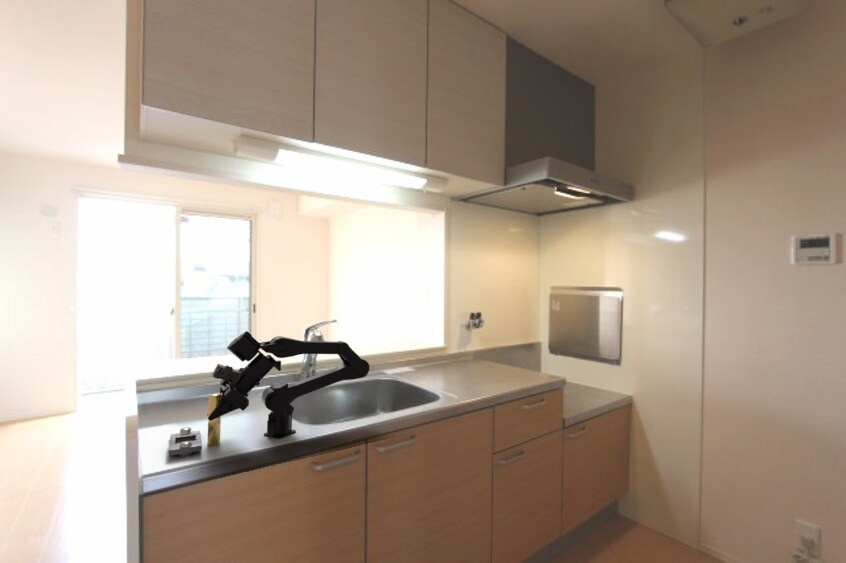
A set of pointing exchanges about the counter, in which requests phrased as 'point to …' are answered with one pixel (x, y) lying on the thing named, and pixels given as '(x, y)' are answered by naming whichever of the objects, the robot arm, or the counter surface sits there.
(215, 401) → the pin
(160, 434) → the counter surface
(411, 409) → the counter surface
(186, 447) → the grey slotted block
